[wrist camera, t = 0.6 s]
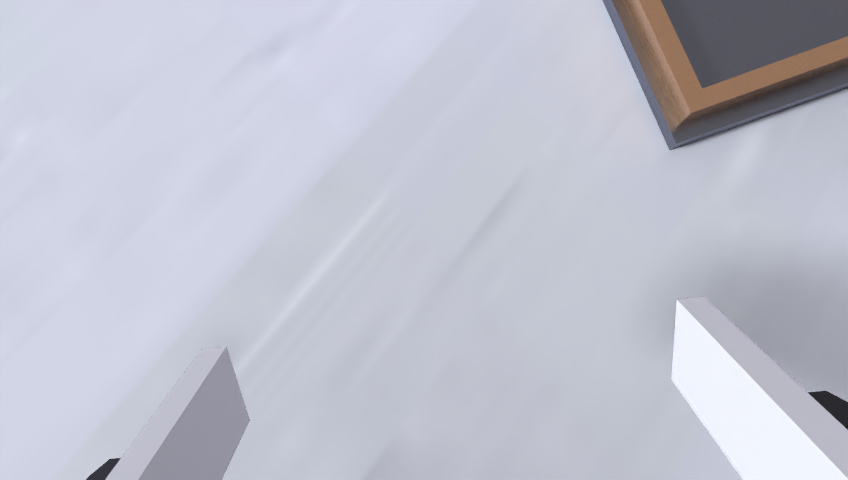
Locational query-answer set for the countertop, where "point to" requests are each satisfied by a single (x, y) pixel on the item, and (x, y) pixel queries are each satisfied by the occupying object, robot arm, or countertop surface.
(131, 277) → the countertop surface
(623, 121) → the countertop surface
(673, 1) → the rectangular wooden frame
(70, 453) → the countertop surface
